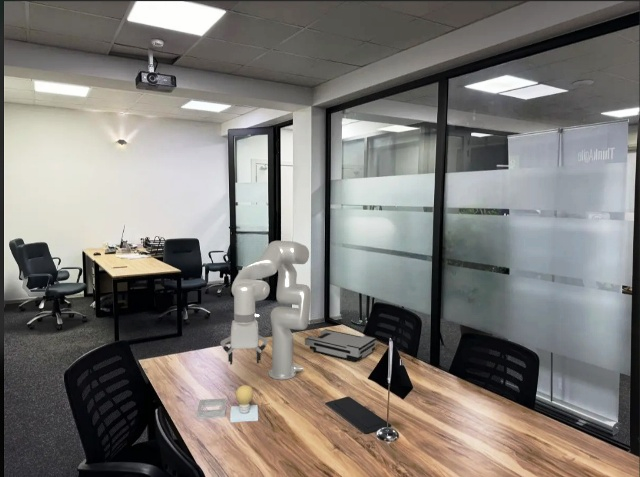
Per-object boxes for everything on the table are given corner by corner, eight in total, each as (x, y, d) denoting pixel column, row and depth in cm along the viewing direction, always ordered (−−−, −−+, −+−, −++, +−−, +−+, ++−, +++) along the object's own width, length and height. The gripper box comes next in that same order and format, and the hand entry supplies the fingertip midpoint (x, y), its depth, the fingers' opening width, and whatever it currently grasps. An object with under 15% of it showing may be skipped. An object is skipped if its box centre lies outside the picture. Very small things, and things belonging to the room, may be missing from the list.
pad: (257, 407, 165) (257, 404, 165) (258, 420, 155) (258, 418, 155) (231, 409, 163) (231, 406, 163) (230, 422, 153) (230, 419, 153)
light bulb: (249, 417, 155) (249, 390, 154) (233, 415, 156) (233, 388, 156) (255, 408, 161) (255, 383, 160) (239, 406, 163) (239, 381, 162)
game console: (325, 340, 245) (325, 327, 244) (375, 352, 228) (376, 337, 227) (304, 351, 227) (305, 336, 227) (358, 364, 210) (358, 348, 210)
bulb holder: (226, 404, 166) (226, 398, 166) (224, 417, 157) (224, 410, 157) (200, 405, 165) (200, 399, 165) (197, 418, 155) (197, 412, 155)
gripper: (267, 314, 161) (267, 357, 162) (221, 315, 158) (221, 360, 159) (268, 319, 153) (268, 365, 155) (219, 321, 150) (219, 367, 152)
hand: (244, 362), depth 157 cm, fingers open, 9 cm apart
